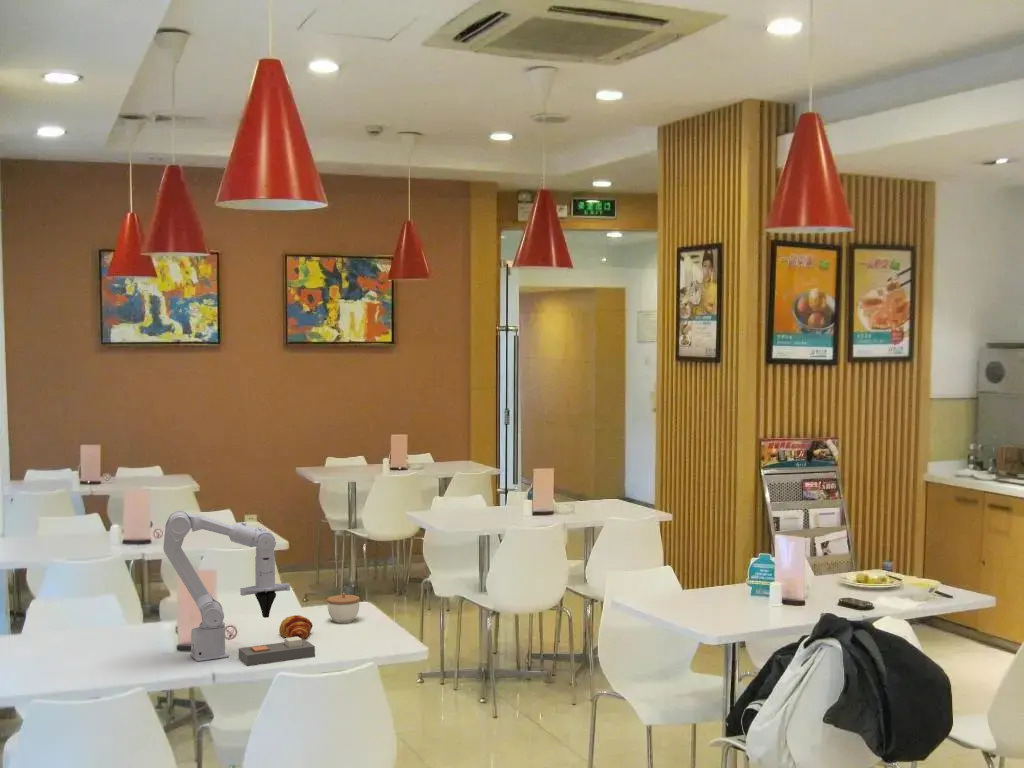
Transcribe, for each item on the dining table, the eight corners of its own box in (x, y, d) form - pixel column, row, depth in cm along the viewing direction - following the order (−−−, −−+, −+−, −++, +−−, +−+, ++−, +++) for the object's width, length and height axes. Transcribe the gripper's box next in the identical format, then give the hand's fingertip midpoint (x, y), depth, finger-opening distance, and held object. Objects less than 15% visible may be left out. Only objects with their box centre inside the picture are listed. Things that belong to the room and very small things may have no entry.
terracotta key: (255, 660, 308) (255, 650, 308) (251, 657, 311) (251, 647, 311) (268, 658, 310) (268, 648, 310) (264, 655, 313) (264, 645, 313)
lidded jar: (325, 618, 361) (325, 591, 361) (356, 616, 365) (356, 588, 364) (329, 626, 351) (329, 597, 351) (362, 623, 354) (362, 595, 354)
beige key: (289, 651, 313) (288, 641, 313) (284, 648, 316) (284, 638, 316) (302, 649, 315) (302, 639, 315) (297, 646, 318) (297, 636, 318)
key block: (247, 665, 304) (247, 655, 304) (238, 658, 312) (238, 648, 312) (314, 656, 314) (314, 646, 314) (304, 649, 322) (304, 639, 322)
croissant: (282, 638, 349) (270, 618, 348) (310, 622, 352) (298, 601, 351) (291, 653, 329) (279, 631, 328) (320, 635, 332) (308, 614, 331)
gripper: (244, 576, 312) (245, 622, 312) (293, 571, 319) (293, 616, 319) (238, 572, 318) (238, 617, 318) (285, 567, 325) (286, 611, 325)
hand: (265, 616), depth 319 cm, fingers closed
